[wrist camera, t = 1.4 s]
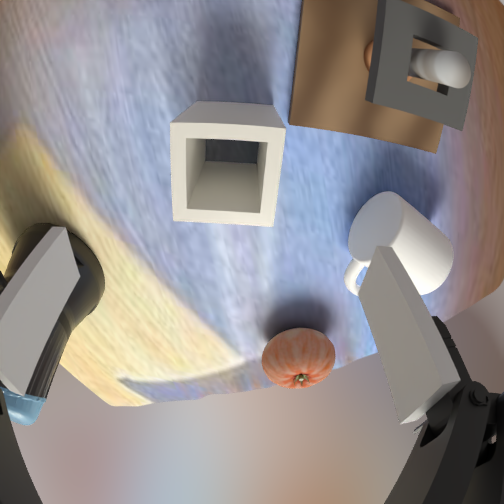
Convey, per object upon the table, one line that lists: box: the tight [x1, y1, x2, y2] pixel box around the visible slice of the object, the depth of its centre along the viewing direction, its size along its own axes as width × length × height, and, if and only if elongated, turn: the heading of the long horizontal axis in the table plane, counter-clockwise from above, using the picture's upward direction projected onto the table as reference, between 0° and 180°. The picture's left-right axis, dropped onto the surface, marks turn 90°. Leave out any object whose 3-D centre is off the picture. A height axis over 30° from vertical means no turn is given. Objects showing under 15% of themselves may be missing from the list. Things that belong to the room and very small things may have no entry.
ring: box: [365, 0, 478, 131], centre depth 15 cm, size 8×8×2 cm
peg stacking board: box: [288, 0, 471, 154], centre depth 17 cm, size 16×16×12 cm
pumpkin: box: [262, 328, 335, 388], centre depth 41 cm, size 11×11×8 cm
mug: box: [344, 191, 453, 296], centre depth 31 cm, size 12×10×8 cm
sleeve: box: [170, 101, 286, 227], centre depth 23 cm, size 7×7×10 cm
